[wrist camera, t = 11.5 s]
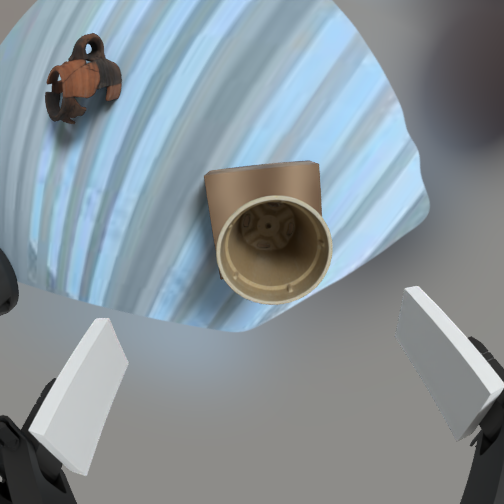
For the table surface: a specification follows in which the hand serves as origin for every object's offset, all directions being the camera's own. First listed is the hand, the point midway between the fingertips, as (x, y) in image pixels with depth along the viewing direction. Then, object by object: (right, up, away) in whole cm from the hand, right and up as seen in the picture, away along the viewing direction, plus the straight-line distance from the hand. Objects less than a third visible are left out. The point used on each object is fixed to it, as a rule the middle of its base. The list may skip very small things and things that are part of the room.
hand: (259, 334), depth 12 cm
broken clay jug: (-21, +26, +17) cm, 37 cm away
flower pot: (+1, +7, +19) cm, 20 cm away
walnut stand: (+1, +8, +24) cm, 25 cm away
